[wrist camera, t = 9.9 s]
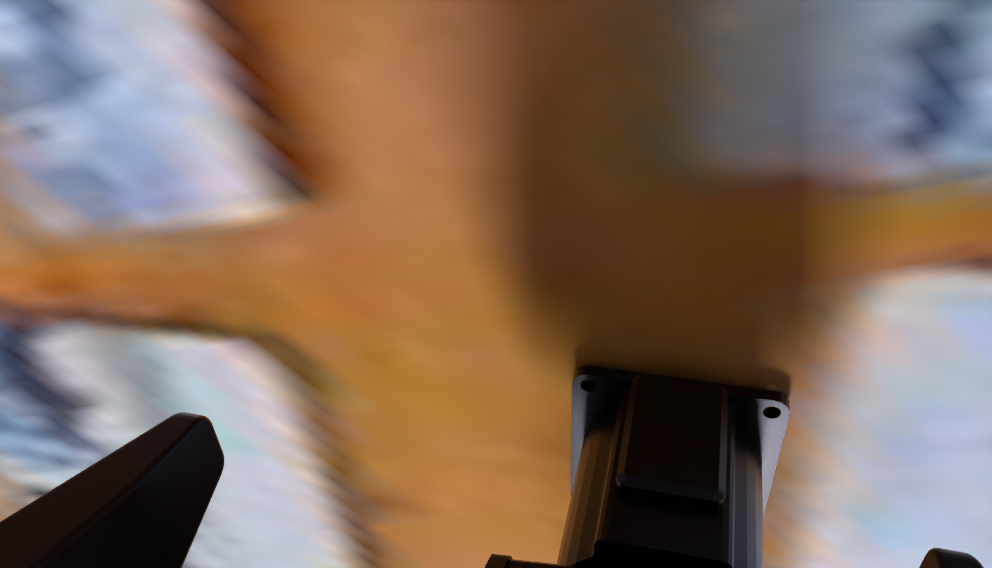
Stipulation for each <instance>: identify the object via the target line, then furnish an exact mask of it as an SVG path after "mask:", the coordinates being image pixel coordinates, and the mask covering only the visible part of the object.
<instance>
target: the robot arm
mask: <svg viewBox="0 0 992 568" xmlns="http://www.w3.org/2000/svg"><path fill="white" fill-rule="evenodd" d="M584 380H589V381H592V382H593V383H588V382H585V381H584ZM773 406H774V407H777V408H776V409H769V408H767V407H773ZM789 416H790V409H789V400H788V399H787V397H786V396H785V395H783V394H782V393H779V392H776V391H769V390H762V389H755V388H748V387H740V386H733V385H726V384H719V383H711V382H704V381H697V380H689V379H682V378H675V377H668V376H660V375H653V374H646V373H639V372H631V371H624V370H617V369H610V368H602V367H595V366H583V367H580V368H578V369H577V370H576V372H575V375H574V379H573V383H572V435H571V501H570V505H569V510H568V515H567V519H566V524H565V529H564V533H563V538H562V542H561V547H560V552H559V556H558V561H557V564H550V563H541V562H531V561H522V560H513V559H512V557H511V556H506V555H497V554H492V555H491V556H490V558H489V560H488V562H487V564H486V566H485V568H764V542H763V515H764V512H765V508H766V504H767V500H768V496H769V493H770V489H771V485H772V481H773V477H774V473H775V470H776V466H777V462H778V458H779V454H780V450H781V447H782V443H783V439H784V435H785V431H786V428H787V424H788V420H789ZM223 467H224V455H223V451H222V449H221V446H220V444H219V441H218V438H217V436H216V433H215V430H214V428H213V425H212V423H211V421H210V420H209V419H208V418H207V417H205V416H201V415H196V414H190V413H177V414H175V415H173V416H171V417H169V418H168V419H166V420H164V421H163V422H161V423H160V424H158V425H156V426H155V427H153V428H151V429H150V430H148V431H147V432H145V433H143V434H142V435H140V436H139V437H137V438H135V439H134V440H132V441H130V442H129V443H127V444H126V445H124V446H122V447H121V448H119V449H117V450H116V451H114V452H113V453H111V454H109V455H108V456H106V457H105V458H103V459H101V460H100V461H98V462H96V463H95V464H93V465H92V466H90V467H88V468H87V469H85V470H83V471H82V472H80V473H79V474H77V475H75V476H74V477H72V478H71V479H69V480H67V481H66V482H64V483H62V484H61V485H59V486H58V487H56V488H54V489H53V490H51V491H49V492H48V493H46V494H45V495H43V496H41V497H40V498H38V499H37V500H35V501H33V502H32V503H30V504H28V505H27V506H25V507H24V508H22V509H20V510H19V511H17V512H15V513H14V514H12V515H11V516H9V517H7V518H6V519H4V520H3V521H1V522H0V568H181V567H182V565H183V563H184V561H185V559H186V556H187V554H188V552H189V549H190V547H191V545H192V542H193V540H194V538H195V535H196V533H197V531H198V528H199V526H200V524H201V521H202V519H203V516H204V514H205V512H206V509H207V507H208V505H209V502H210V500H211V498H212V495H213V493H214V491H215V488H216V486H217V483H218V481H219V479H220V476H221V474H222V471H223ZM919 568H983V566H982V565H981V564H980V562H979V561H978V560H977V559H976V558H974V557H973V556H971V555H970V554H967V553H963V552H958V551H952V550H947V549H941V548H933V549H931V550H929V551H928V553H927V554H926V556H925V558H924V560H923V562H922V563H921V565H920V567H919Z"/></svg>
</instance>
